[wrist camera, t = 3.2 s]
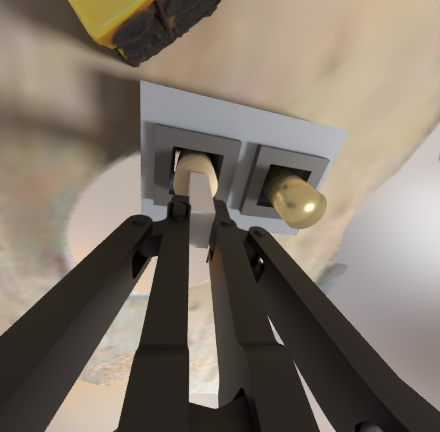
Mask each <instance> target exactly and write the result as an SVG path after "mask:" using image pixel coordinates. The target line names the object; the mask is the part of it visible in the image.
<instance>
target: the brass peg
mask: <svg viewBox="0 0 440 432" xmlns="http://www.w3.org/2000/svg"><path fill="white" fill-rule="evenodd" d="M262 192H263V193H264V194H265V196H266V197H267V198H268V200H269V201H270V202H271V204H272V205H273V206H274V208H275V209H276V210H277V212H278V213H279V214H280V216H281V217H282V218H283V220H284V221H285V222H286V224H287V225H288V226H289V227H291V228H294V229H304V228H307V227H310V226H312V225H314V224H315V223H316V222H318V221H319V220H320V219H321V218H322V216H323V215H324V213H325V211H326V208H327V201H326V198H325V197H324V195H322V194H321V193H320V192H318V191H317V190H316V189H314V188H313V187H312V186H310V185H309V184H308V183H306V182H305V181H304V180H302V179H301V178H300V177H298V176H297V175H296V174H294V173H293V172H292V171H290V170H289V169H288V168H286V167H284V166H274V167H272V168H270V169H269V170H268V172H267V175H266V178H265V181H264V184H263V187H262Z"/></svg>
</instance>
